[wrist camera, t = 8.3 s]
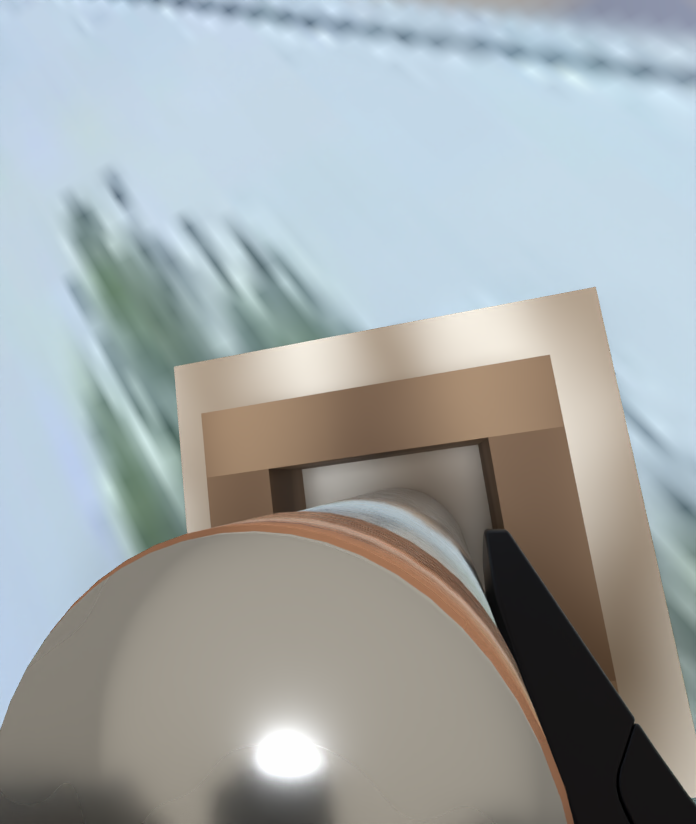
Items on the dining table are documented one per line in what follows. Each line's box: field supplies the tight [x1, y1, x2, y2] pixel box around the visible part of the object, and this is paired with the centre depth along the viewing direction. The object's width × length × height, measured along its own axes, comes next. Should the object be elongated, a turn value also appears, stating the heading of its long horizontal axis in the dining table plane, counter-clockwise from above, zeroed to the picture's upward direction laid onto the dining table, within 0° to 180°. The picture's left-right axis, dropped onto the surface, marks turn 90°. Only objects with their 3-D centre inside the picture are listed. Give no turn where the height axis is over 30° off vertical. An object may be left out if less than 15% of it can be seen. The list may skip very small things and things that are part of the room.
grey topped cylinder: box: [0, 488, 574, 824], centre depth 9 cm, size 4×4×12 cm
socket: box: [174, 287, 696, 798], centre depth 15 cm, size 16×16×4 cm
